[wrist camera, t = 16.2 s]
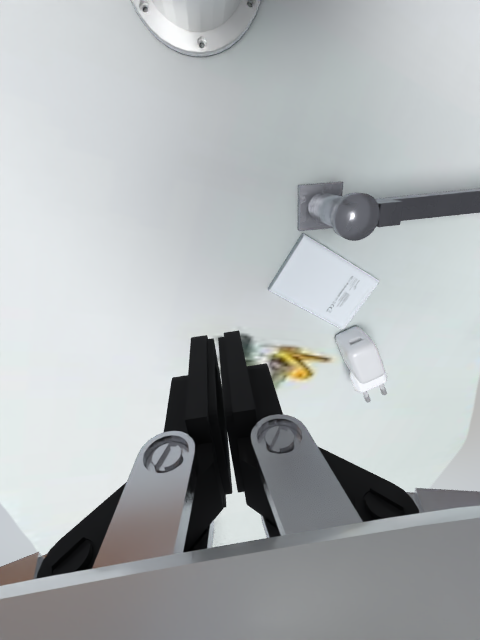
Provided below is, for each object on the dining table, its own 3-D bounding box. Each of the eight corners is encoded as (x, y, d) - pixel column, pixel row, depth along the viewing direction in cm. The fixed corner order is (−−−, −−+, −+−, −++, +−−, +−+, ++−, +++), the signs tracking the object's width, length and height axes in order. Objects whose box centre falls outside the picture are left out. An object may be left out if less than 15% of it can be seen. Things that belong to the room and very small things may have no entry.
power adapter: (380, 377, 50) (401, 401, 44) (351, 390, 50) (369, 416, 45) (360, 320, 45) (380, 340, 40) (328, 335, 46) (344, 357, 40)
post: (298, 185, 37) (325, 188, 28) (340, 181, 37) (379, 184, 29) (297, 229, 39) (323, 245, 30) (337, 226, 39) (373, 240, 31)
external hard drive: (301, 232, 40) (375, 277, 43) (266, 287, 42) (339, 326, 46) (304, 234, 38) (381, 281, 42) (268, 291, 41) (343, 331, 44)
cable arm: (320, 235, 32) (334, 242, 29) (321, 193, 31) (336, 195, 27) (560, 209, 34) (601, 213, 30) (573, 168, 32) (618, 167, 29)
